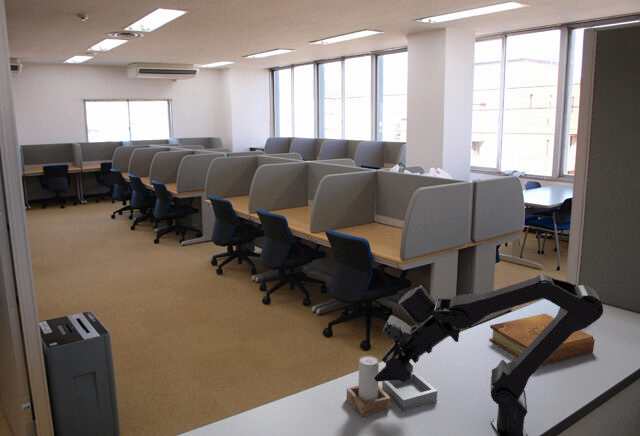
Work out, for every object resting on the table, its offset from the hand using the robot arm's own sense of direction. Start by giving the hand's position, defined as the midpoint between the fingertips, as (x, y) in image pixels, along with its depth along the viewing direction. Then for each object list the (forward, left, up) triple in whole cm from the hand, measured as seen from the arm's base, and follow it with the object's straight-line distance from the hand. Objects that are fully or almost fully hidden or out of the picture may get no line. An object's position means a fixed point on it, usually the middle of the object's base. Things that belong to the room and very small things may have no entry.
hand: (379, 369), depth 122 cm
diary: (+28, -55, -10) cm, 62 cm away
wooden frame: (+1, +2, -10) cm, 10 cm away
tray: (+4, -9, -10) cm, 14 cm away
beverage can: (+1, +2, -10) cm, 10 cm away
